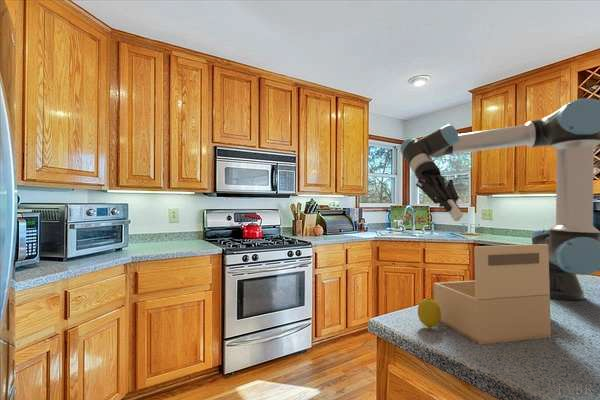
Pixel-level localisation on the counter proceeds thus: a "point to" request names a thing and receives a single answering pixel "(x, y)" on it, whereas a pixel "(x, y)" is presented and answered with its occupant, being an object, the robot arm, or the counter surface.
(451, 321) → the carton
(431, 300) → the lemon
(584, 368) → the counter surface
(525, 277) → the carton flap
